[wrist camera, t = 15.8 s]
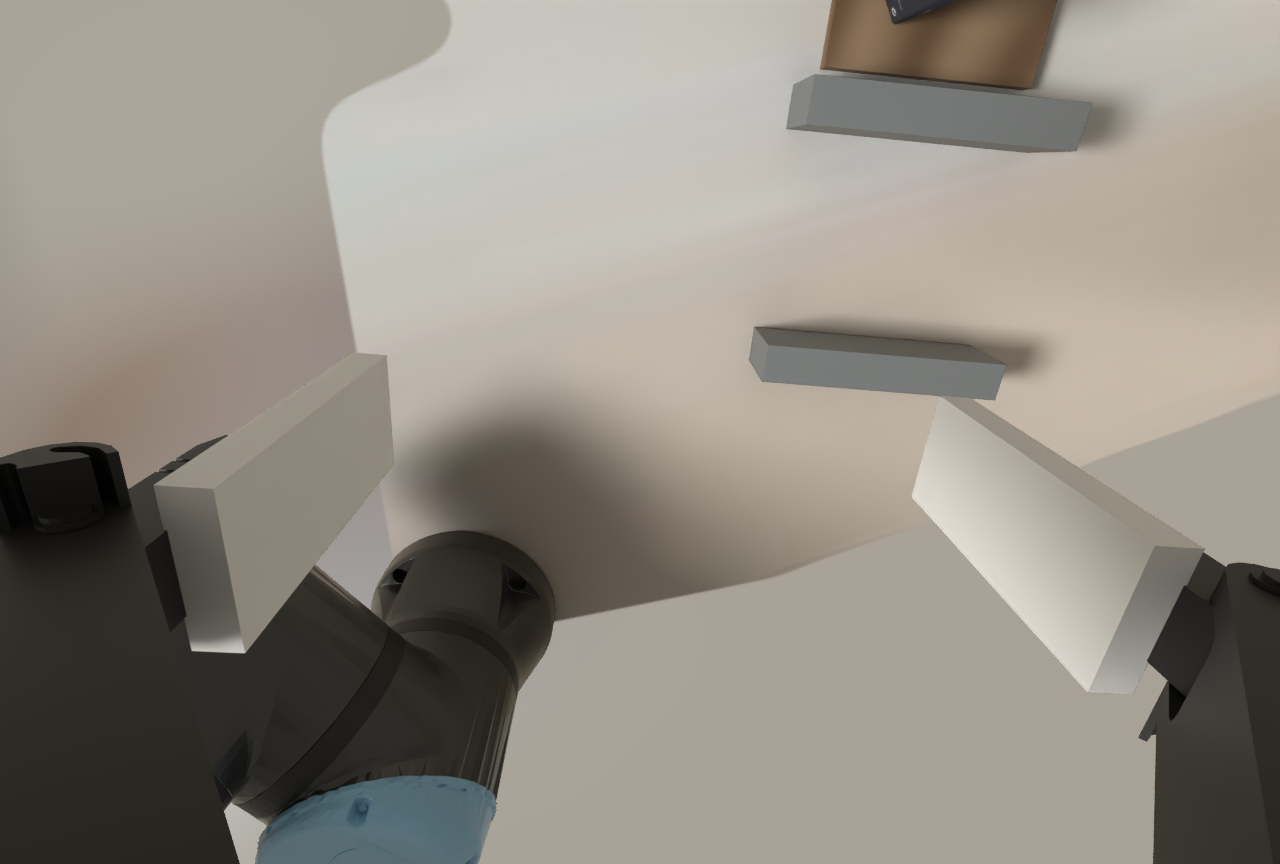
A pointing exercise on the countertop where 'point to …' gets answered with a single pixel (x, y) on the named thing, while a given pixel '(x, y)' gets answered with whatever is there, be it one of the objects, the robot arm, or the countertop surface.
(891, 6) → the small box
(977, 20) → the walnut pad
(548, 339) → the countertop surface
